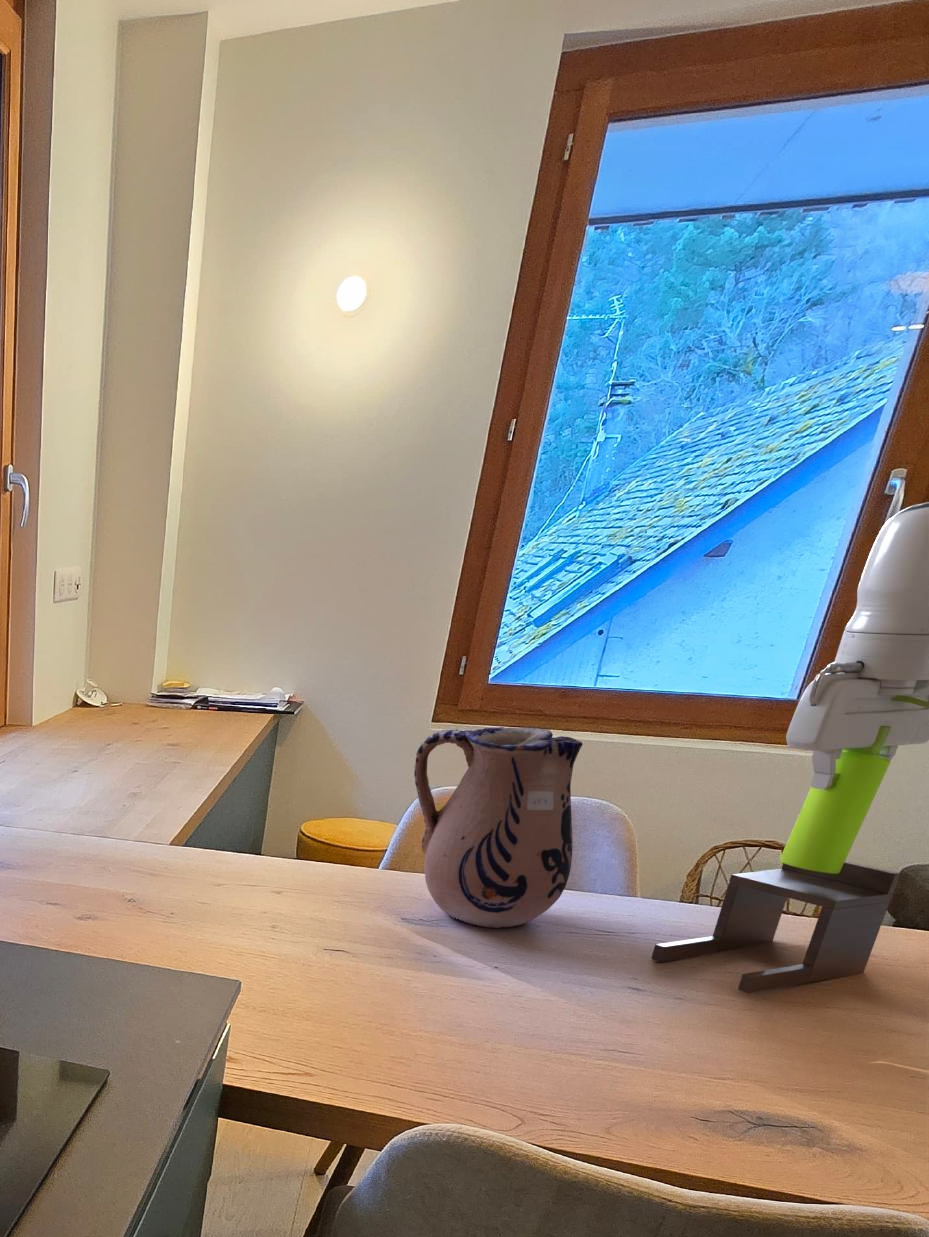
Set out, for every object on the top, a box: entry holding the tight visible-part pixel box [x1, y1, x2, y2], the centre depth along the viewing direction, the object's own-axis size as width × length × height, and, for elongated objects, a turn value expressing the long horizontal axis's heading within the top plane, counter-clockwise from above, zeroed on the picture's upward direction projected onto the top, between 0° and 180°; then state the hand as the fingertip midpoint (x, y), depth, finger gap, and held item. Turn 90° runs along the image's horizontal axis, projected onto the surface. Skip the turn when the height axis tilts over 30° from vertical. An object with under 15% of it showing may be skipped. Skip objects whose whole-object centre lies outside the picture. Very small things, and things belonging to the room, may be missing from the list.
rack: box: [650, 860, 901, 994], centre depth 124 cm, size 12×20×12 cm, turn 110°
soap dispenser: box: [778, 695, 929, 874], centre depth 119 cm, size 6×7×20 cm
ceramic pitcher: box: [414, 726, 583, 929], centre depth 138 cm, size 18×21×25 cm
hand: (843, 786), depth 119 cm, fingers closed on soap dispenser, 6 cm apart
